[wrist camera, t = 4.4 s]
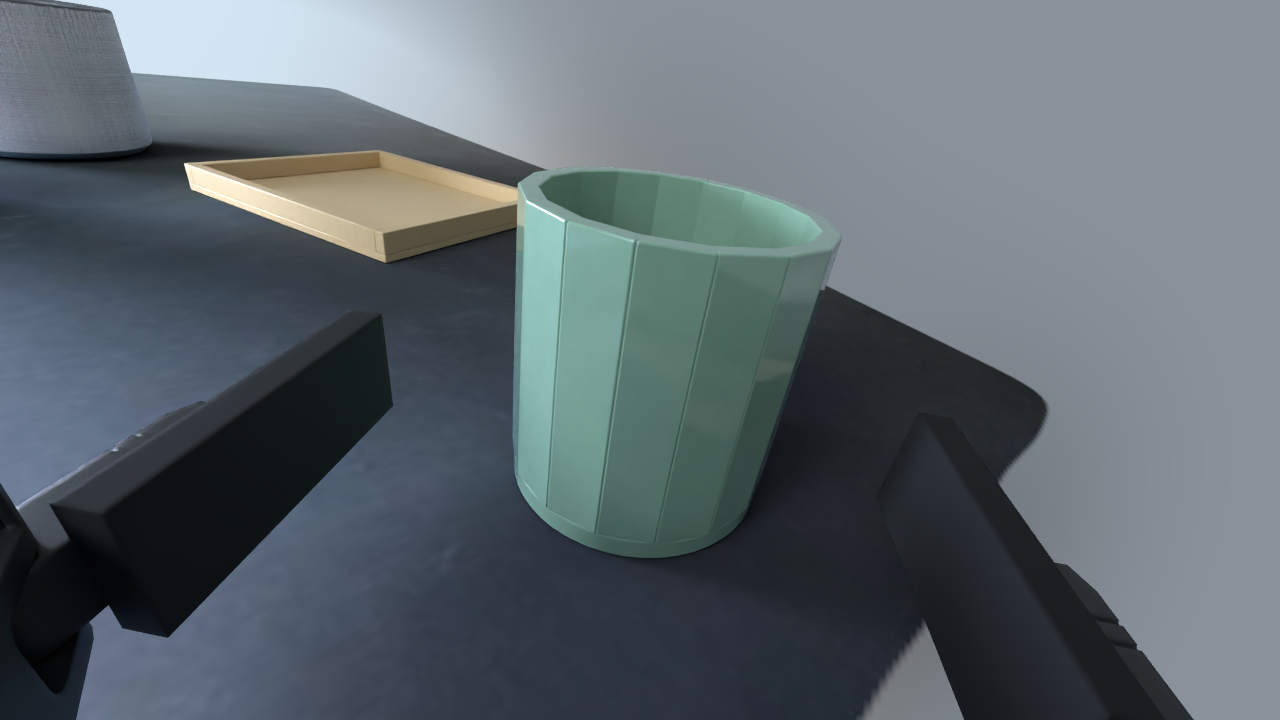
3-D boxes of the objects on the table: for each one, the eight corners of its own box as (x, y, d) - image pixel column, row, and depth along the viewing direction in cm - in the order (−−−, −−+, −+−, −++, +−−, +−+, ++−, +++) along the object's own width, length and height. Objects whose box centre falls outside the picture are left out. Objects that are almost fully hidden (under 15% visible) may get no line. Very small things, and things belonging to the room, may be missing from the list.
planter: (190, 149, 51) (153, 15, 45) (56, 170, 40) (-14, -3, 34) (64, 129, 51) (12, -7, 45) (-105, 145, 40) (-201, -33, 34)
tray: (548, 218, 47) (549, 196, 46) (386, 263, 33) (382, 233, 32) (381, 169, 55) (379, 149, 54) (190, 189, 41) (183, 162, 40)
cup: (777, 445, 22) (858, 214, 17) (701, 611, 15) (804, 289, 10) (596, 372, 25) (620, 158, 20) (458, 480, 18) (444, 184, 13)
